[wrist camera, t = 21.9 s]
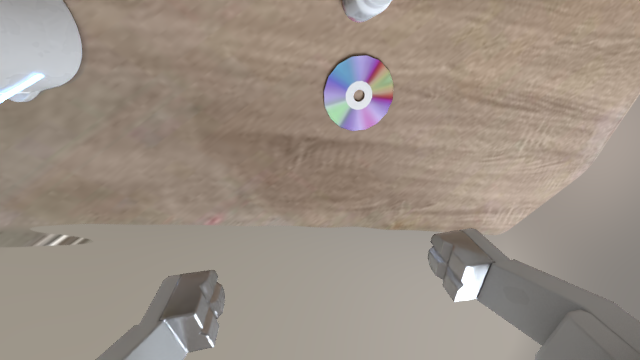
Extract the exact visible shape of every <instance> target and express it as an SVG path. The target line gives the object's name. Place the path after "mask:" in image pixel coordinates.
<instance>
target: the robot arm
mask: <svg viewBox="0 0 640 360" xmlns="http://www.w3.org/2000/svg"><path fill="white" fill-rule="evenodd" d="M81 59H82V44H81V38H80V34H79V31H78V28H77V25H76V23H75V21H74V19H73V16H72V15H71V13H70V11H69V9H68V8H67V6H66V4H65V3H64V2H63V0H0V95H1V96H0V103H1V102H3V101H4V100H6V99H10V100H12V101H15V102H28V101H31V100H32V99H34V98H35V97H36V96H37V95H38V94H39V93H40V92H41V91H42V90H45V89H49V88H53V87H57V86H60V85H63V84H65V83H66V82H68V81H69V80H71V79H72V78H73V77H74V75H75V74H76V73H77V71H78V69H79V67H80V64H81ZM431 243H432V244H433V247H432V248H431V249H430V250H429V253H428V260H429V265H430V267H431V269H432V271H433V272H434V274H435V275H436V276H438V277H440V278H441V279H443V287H444V288H445V290H446V291H447V292H448V294H449V295H450V297H451V298H452V299H453V301H454V302H458V301H465V300H471V299H477V300H478V301H479V302H481V303H482V304H484V305H485V306H487V307H488V308H489V309H491V310H492V311H494V312H495V313H496V314H498V315H499V316H501V317H502V318H504V319H505V320H506V321H508V322H509V323H511V324H512V325H514V326H515V327H516V328H518V329H519V330H521V331H522V332H523V333H525V334H526V335H528V336H529V337H531V338H532V339H533V340H535V341H537V342H538V343H539V344H541V345H542V347H541V348H540V350H539V351H538V352H537V354H536V355H535V360H640V322H639V321H638V320H637V319H635V318H634V317H633V316H631V315H630V314H629V313H627V312H626V311H625V310H623V309H622V308H621V307H619V306H618V305H617V304H615V303H614V302H612V301H610V300H607V299H605V298H603V297H600V296H598V295H596V294H594V293H591V292H589V291H587V290H584V289H582V288H579V287H577V286H575V285H573V284H570V283H568V282H566V281H563V280H561V279H559V278H557V277H554V276H552V275H549V274H547V273H545V272H542V271H540V270H538V269H536V268H533V267H531V266H529V265H526V264H524V263H522V262H519V261H517V260H510V259H509V258H507V256H505V255H504V254H503V253H502V252H501V251H500V250H499V249H498V248H496V247H495V246H494V245H493V244H492V243H491V242H489V240H487V239H486V238H485V237H484V236H483V235H482V234H481V233H480V232H478V231H477V230H476V229H474V228H469V229H463V230H456V231H450V232H445V233H439V234H434V235H433V236H432V238H431ZM217 278H218V276H217V273H216V271H215V270H209V271H201V272H194V273H186V274H180V275H173V276H168V277H167V278H166V279H165V280H164V281H163V282H162V284H161V286H160V288H159V290H158V292H157V293H156V296H155V297H154V299H153V301H152V303H151V304H150V306H149V308H148V310H147V312H146V313H145V316H144V317H143V319H142V321H141V323H140V324H139V325H135V326H133V327H132V328H131V329H130V330H129V331H128V332H127V333H125V334H124V335H123V336H122V337H121V338H120V339H119V340H117V341H116V342H115V343H114V344H113V345H112V346H111V347H109V348H108V349H107V350H106V351H105V352H104V353H103V354H102V355H100V356H99V357H98V358H97V359H96V360H183V359H184V358H185V357H186V355H187V353H188V352H193V351H198V350H202V349H207V348H212V347H214V345H215V340H216V337H217V333H218V328H219V324H218V322H217V320H216V319H217V318H218V317H219V316H220V315H221V314H222V312H223V308H224V299H225V295H224V289H223V287H222V285H221V284H219V283H218V282H217Z"/></svg>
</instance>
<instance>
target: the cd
mask: <svg viewBox="0 0 640 360" xmlns="http://www.w3.org/2000/svg"><path fill="white" fill-rule="evenodd" d="M357 90H362V91H363V92H364V99H363V100H362V101H360V102H357V101H355V100H354V98H353V95H354V93H355V91H357ZM392 99H393V82H392V79H391V75H390V72H389V70H388V69H387V68H386V67H385V66H384V65H383V64H382V63H381V61H380V60H377V59H375V58H372V57H370V56H367V55H364V56H353V57H350V58H348V59H347V60H345V61H343V62H341V63H340V64H338V65H337V66H336V68H335V69H334V70H333V72H332V73H331V74H330V75H329V77H328V80H327V83H326V86H325V89H324V103H325V108H326V110H327V112H328V114H329V116H330V118H331V119H332V120H333V121H334V122H335V123H336V124H337V125H338V126H340V127H341V128H345V129H348V130H351V131H356V130H365V129H367V128H369V127H371V126H373V125H375V124H377V123H378V122H379V121H380V120H381V119H382V117H383V116H384V115H385V114H386V113H387V111H388V109H389V106H390V104H391V102H392Z"/></svg>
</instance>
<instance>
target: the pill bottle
mask: <svg viewBox="0 0 640 360" xmlns="http://www.w3.org/2000/svg"><path fill="white" fill-rule="evenodd" d="M391 1H392V0H343V8H344V11H345V13H346V15H347V16H348V17H349V18H350V19H351V20H352V21H355V22H364V21H366V20H368V19H370V18H372V17H374V16H376V15H377V14H379V13H381V12H382V11H384V10H385V9H386V8H387V7H388V5H389V4H390V2H391Z"/></svg>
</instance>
